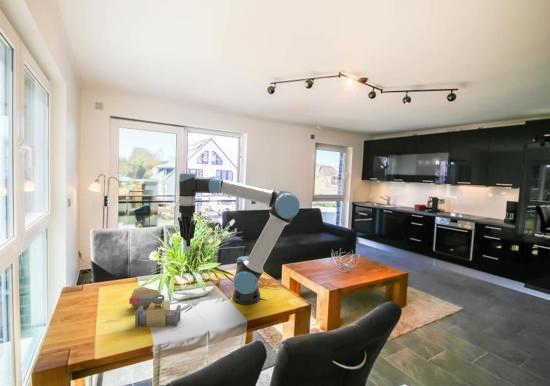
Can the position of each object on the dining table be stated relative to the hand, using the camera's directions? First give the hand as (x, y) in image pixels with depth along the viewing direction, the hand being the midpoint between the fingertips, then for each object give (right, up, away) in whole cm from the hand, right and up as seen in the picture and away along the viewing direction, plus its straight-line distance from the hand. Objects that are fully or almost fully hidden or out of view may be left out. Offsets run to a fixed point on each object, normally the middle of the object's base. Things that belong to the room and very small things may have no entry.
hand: (186, 252), depth 136 cm
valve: (-10, -30, -10) cm, 33 cm away
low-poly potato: (-22, -29, +4) cm, 37 cm away
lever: (-14, -20, -11) cm, 27 cm away
